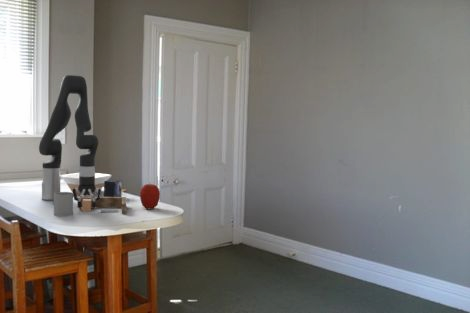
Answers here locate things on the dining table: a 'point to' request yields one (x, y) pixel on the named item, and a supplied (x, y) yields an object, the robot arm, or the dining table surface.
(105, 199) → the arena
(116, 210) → the pad
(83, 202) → the block
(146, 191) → the apple
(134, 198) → the dining table surface
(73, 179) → the bowl
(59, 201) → the cup
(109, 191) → the small box
